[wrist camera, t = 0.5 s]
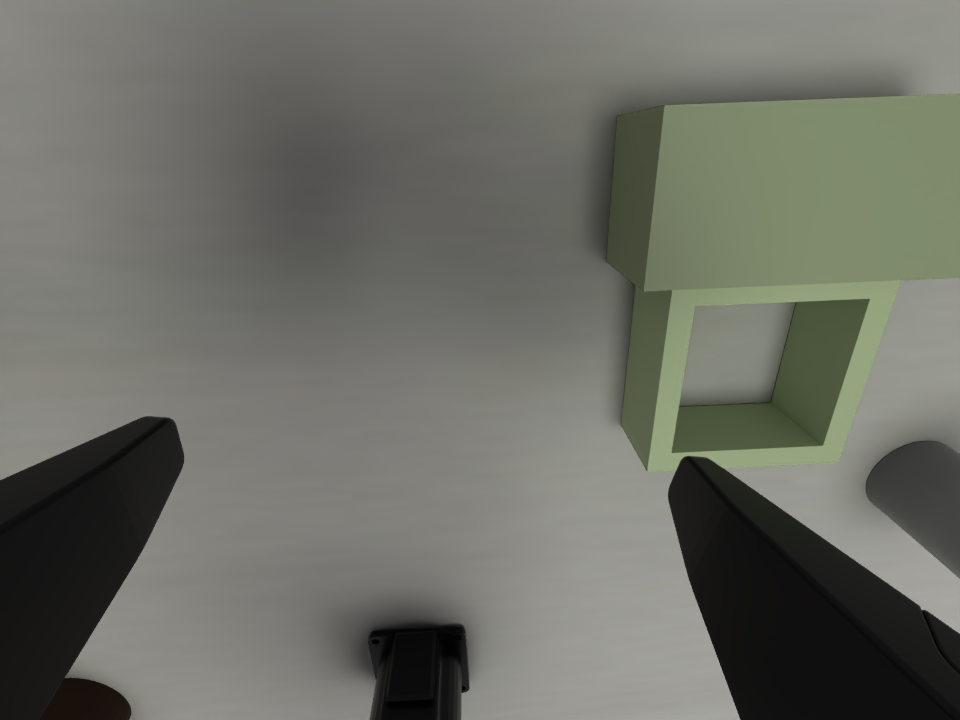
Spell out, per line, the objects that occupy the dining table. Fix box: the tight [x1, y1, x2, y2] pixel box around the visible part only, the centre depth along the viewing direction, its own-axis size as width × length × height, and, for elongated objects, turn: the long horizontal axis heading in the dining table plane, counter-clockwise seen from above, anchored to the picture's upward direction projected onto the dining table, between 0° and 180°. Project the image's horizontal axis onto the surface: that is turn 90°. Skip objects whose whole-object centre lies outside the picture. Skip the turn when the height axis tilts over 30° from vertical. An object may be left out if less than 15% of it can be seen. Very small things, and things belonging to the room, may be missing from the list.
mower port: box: [606, 94, 960, 472], centre depth 20 cm, size 15×12×5 cm
